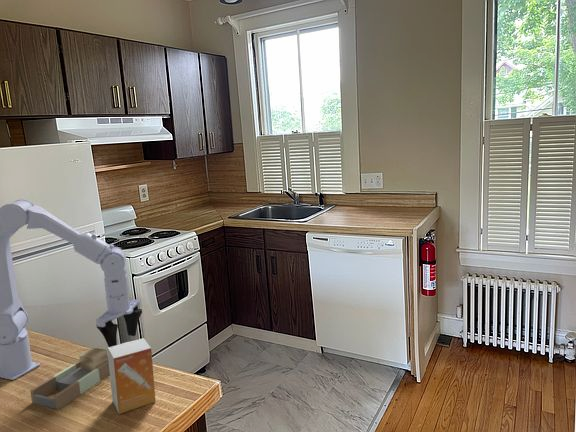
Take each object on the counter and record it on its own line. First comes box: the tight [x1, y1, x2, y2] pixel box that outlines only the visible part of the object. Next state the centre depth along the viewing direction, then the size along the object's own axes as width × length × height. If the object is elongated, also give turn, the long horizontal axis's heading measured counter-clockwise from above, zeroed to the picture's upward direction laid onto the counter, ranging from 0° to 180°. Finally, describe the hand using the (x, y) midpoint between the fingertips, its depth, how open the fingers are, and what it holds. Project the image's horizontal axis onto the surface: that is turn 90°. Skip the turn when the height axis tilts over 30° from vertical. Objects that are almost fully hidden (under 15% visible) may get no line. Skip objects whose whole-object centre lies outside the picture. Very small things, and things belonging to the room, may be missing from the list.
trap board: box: [29, 359, 110, 410], centre depth 106 cm, size 8×20×3 cm, turn 159°
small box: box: [106, 337, 156, 415], centre depth 97 cm, size 8×6×13 cm
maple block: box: [78, 347, 108, 371], centre depth 110 cm, size 4×4×4 cm
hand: (122, 341), depth 120 cm, fingers open, 7 cm apart
